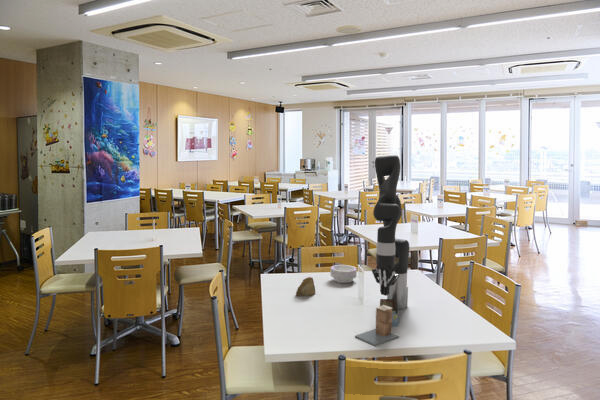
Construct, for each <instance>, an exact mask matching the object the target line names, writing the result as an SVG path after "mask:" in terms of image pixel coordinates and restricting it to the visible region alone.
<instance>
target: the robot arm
mask: <svg viewBox="0 0 600 400" xmlns="http://www.w3.org/2000/svg"><path fill="white" fill-rule="evenodd" d="M374 168H375V175H376V179H377V184H378V190H379V192H378V200H377V202H376V203H375V205H374V208H373V213H372V215H373V218H374V219H375V220H376V221H379V222H382V223H383V224H382V225H383V226H380V227H378V228H377V233H376V234H377V235H376V236H377V241H376V242H377V243H376V249H375V250H376V251H375V252H376V255H375V258H376V259H375V263H376V267H375V268H372V269H371V272H372V273H371V274H372V275H373V277H374V279H375V282H376V283H377V284H379V286H380V290H379V291H380V295H383V296H386V299H396V301H397V306H398V310H404V309H406V308H407V306H408V300H409V299H408V298H409V296H408V295H409V286H408V268H409V257H410V242H409V241H408V240H407V239H400V238H396V230H397V227H398V226H397V225H398V223H399V221H400V219H401V218H402V215H403V214H402V213H403V212H402V210H403V209H402V202H401V199H400V197H399V196H398V195H397V187H398V184H399V183H398V182H399V178H400V174H401V160H400V157H399V156H398V155H397V154H390V155H389V154H388V155H381V156H376V157H375V160H374ZM385 177H387V178H385ZM396 259H398V261H397V262H396Z"/></svg>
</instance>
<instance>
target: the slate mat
mask: <svg viewBox="0 0 600 400" xmlns="http://www.w3.org/2000/svg"><path fill="white" fill-rule="evenodd" d="M398 337H399V338H400V336H399V335H397V334H396V333H392V332H391V334H390V335H387V336H382V335H379V334H377V333H376V328H373V329H371V330H367V331H365V332H362V333H359V334H356V335H354V338H356V339H359V340H361V341H363V342H365V343H367V342H368V343H367V344H369V343H370V344H369V345H371V344H372V346H374V345H375V346H374V347H376V345H377V346H379V344H380V345H382V344H384V342H385V343H387V341H388V342H391V341H393V340H396V339H399V338H398ZM395 338H396V339H395ZM392 339H393V340H392Z"/></svg>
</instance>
